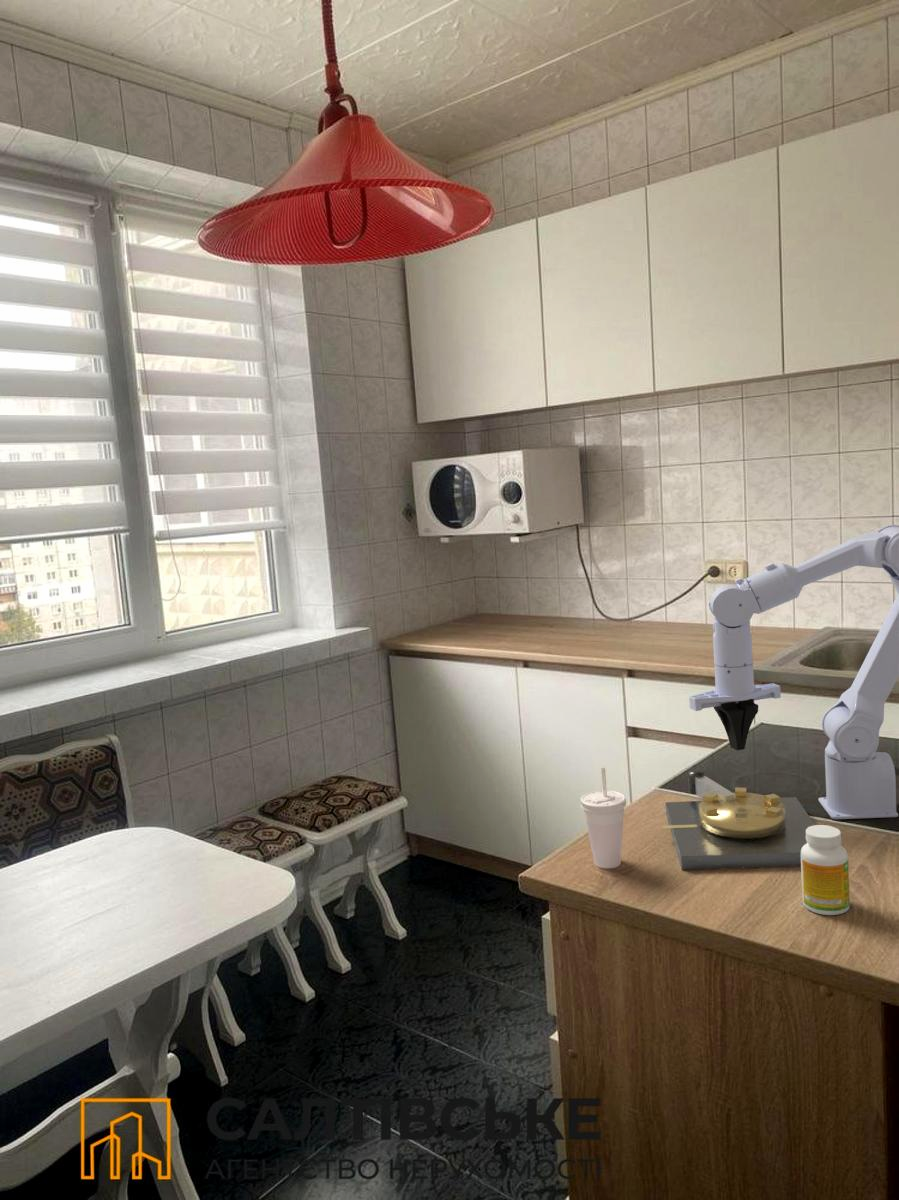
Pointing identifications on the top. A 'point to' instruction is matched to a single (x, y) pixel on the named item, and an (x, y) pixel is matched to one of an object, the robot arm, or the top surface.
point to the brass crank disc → (736, 809)
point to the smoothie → (605, 824)
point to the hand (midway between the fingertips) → (737, 748)
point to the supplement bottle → (824, 871)
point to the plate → (736, 840)
